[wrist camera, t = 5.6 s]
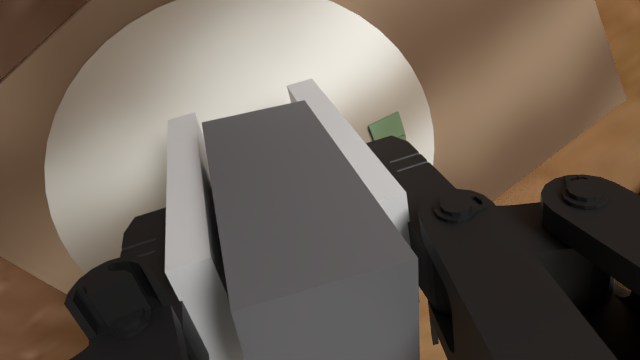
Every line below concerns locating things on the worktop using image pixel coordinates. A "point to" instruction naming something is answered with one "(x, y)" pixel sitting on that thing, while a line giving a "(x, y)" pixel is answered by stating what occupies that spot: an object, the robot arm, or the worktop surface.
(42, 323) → the worktop surface
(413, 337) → the peg knob
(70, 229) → the tuner board
